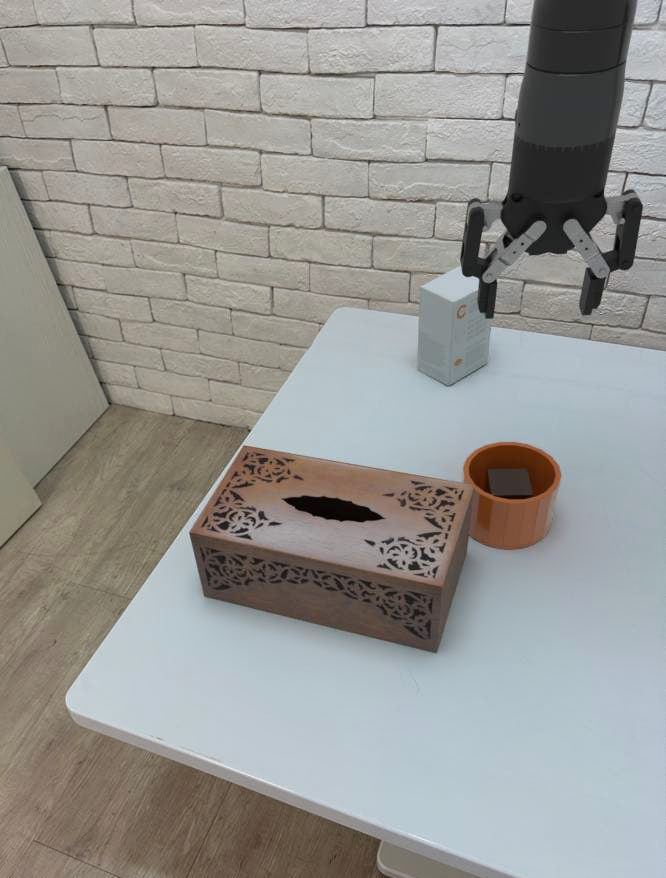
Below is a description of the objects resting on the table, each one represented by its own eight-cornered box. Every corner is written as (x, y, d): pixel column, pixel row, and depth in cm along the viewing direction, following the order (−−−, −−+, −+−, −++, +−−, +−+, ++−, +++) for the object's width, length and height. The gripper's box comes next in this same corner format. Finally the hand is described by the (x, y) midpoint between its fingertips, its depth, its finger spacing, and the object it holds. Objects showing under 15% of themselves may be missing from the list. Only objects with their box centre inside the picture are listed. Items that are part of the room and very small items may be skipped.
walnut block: (521, 501, 93) (527, 468, 89) (527, 527, 90) (533, 494, 86) (482, 501, 93) (487, 468, 90) (486, 527, 90) (491, 495, 87)
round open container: (544, 487, 95) (553, 440, 90) (557, 549, 88) (568, 502, 83) (456, 488, 96) (460, 442, 91) (462, 549, 89) (467, 503, 84)
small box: (455, 347, 117) (461, 263, 108) (488, 364, 114) (498, 278, 104) (415, 369, 114) (418, 285, 105) (448, 387, 111) (454, 301, 101)
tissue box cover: (204, 596, 88) (188, 532, 81) (253, 509, 97) (243, 445, 90) (436, 653, 80) (442, 587, 73) (466, 552, 89) (474, 485, 82)
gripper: (475, 149, 61) (459, 337, 72) (675, 135, 58) (626, 332, 70) (467, 115, 66) (454, 296, 77) (651, 101, 64) (609, 289, 75)
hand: (536, 312), depth 74 cm, fingers open, 8 cm apart
